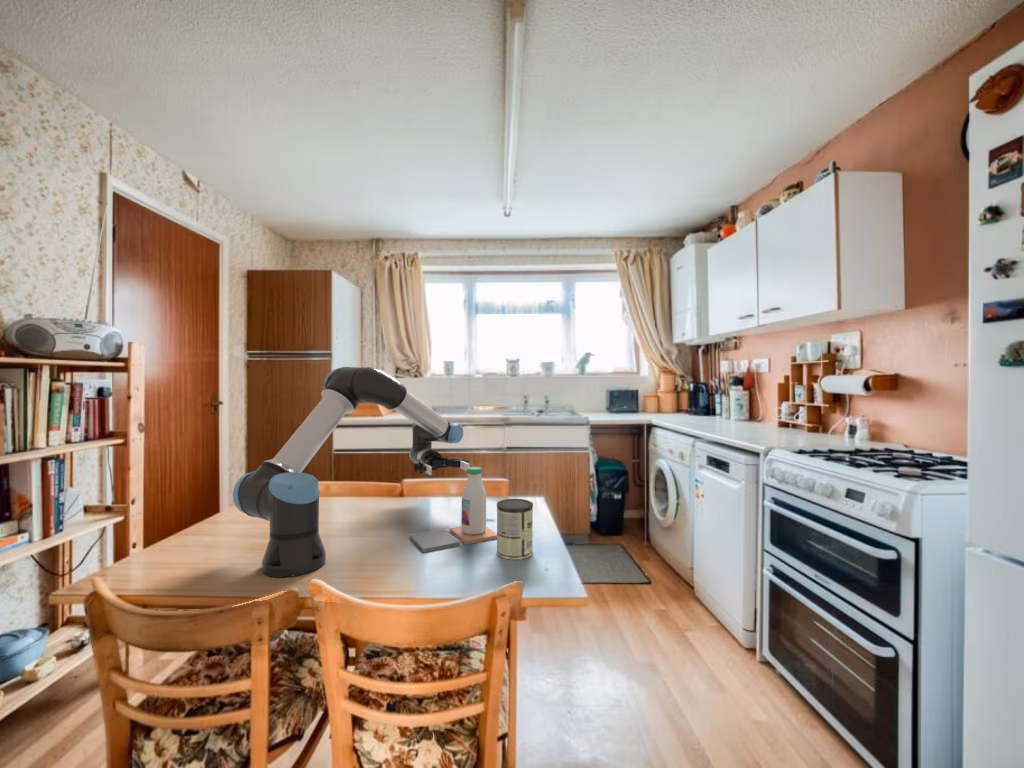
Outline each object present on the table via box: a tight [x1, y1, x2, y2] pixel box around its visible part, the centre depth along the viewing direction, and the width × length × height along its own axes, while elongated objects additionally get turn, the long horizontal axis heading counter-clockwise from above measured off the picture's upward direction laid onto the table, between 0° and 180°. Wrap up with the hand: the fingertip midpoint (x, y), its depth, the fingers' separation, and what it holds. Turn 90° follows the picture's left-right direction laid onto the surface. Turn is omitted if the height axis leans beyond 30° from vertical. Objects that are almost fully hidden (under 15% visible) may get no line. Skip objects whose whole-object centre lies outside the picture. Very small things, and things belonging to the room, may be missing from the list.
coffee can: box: [496, 498, 534, 561], centre depth 130 cm, size 10×10×14 cm
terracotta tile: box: [449, 525, 497, 545], centre depth 144 cm, size 11×13×1 cm
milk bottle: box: [460, 466, 487, 535], centre depth 144 cm, size 8×8×20 cm
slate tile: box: [409, 528, 461, 553], centre depth 138 cm, size 11×13×1 cm
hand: (450, 469), depth 155 cm, fingers open, 13 cm apart
